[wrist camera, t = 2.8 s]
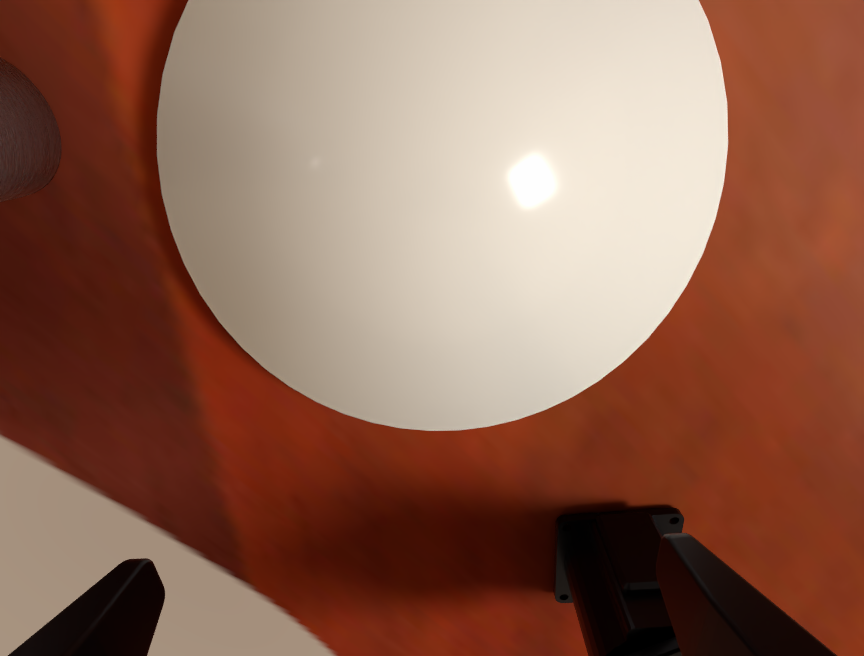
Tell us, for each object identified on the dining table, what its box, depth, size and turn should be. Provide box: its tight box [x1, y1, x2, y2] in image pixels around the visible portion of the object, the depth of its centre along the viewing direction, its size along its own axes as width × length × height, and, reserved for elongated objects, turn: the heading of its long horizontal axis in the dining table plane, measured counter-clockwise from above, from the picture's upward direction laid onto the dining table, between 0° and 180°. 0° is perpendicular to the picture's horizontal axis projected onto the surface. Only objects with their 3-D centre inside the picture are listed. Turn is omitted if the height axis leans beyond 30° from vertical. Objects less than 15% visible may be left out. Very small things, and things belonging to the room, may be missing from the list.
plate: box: [157, 0, 728, 431], centre depth 18 cm, size 20×20×1 cm
